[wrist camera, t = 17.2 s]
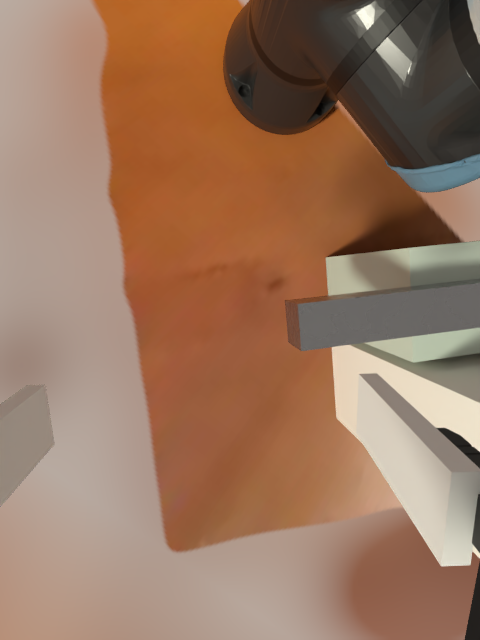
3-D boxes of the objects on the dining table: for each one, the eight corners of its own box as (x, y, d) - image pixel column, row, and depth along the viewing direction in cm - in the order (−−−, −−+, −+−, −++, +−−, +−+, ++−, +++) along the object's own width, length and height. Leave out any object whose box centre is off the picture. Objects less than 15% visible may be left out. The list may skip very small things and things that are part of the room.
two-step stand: (336, 418, 53) (524, 602, 23) (325, 257, 49) (529, 234, 20) (438, 401, 55) (730, 552, 25) (434, 246, 51) (765, 210, 22)
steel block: (288, 342, 30) (301, 351, 27) (285, 300, 30) (297, 303, 26) (599, 302, 34) (645, 305, 31) (601, 264, 34) (648, 263, 30)
